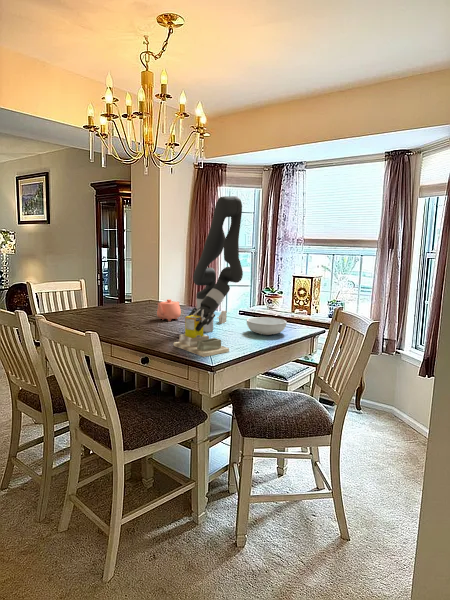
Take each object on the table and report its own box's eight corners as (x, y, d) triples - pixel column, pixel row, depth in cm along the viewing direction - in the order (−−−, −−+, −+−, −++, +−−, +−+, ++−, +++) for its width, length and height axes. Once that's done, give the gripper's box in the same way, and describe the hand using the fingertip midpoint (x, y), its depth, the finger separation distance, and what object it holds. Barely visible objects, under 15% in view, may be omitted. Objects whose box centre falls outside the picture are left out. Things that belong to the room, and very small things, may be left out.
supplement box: (203, 339, 188) (203, 316, 187) (195, 342, 183) (195, 318, 182) (193, 337, 192) (193, 314, 190) (184, 340, 187) (185, 316, 185)
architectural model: (216, 324, 240) (216, 311, 239) (222, 322, 247) (222, 309, 245) (221, 324, 239) (222, 311, 238) (227, 322, 245) (227, 310, 244)
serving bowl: (294, 334, 218) (294, 321, 217) (267, 340, 204) (268, 326, 203) (264, 327, 233) (264, 315, 232) (237, 332, 219) (238, 319, 218)
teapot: (170, 316, 258) (171, 296, 256) (186, 318, 252) (186, 298, 250) (149, 321, 241) (149, 300, 239) (165, 323, 235) (165, 302, 233)
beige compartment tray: (173, 345, 188) (173, 334, 187) (198, 341, 197) (198, 331, 196) (203, 356, 171) (203, 345, 171) (229, 351, 180) (229, 340, 180)
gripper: (198, 293, 195) (177, 320, 189) (218, 297, 184) (196, 326, 178) (207, 303, 199) (187, 330, 193) (226, 308, 188) (206, 336, 182)
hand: (191, 328), depth 186 cm, fingers closed on supplement box, 7 cm apart
